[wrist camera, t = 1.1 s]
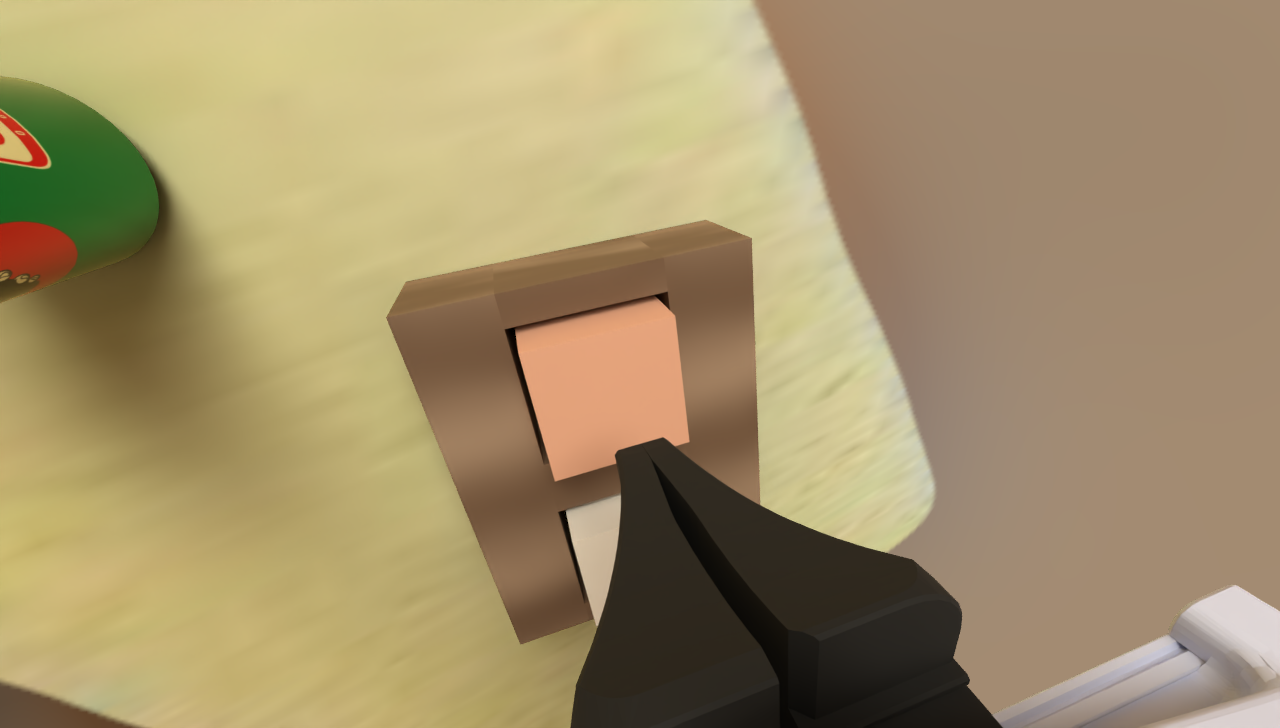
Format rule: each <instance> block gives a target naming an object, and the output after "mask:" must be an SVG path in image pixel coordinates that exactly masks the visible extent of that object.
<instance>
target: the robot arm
mask: <svg viewBox="0 0 1280 728" xmlns="http://www.w3.org/2000/svg"><path fill="white" fill-rule="evenodd" d="M615 459H616V464H617V469H618V474H619V479H620V484H621V512H620V524H619V535H618V543H617V550H616V556H615V562H614V567H613V572H612V576H611V581H610V585H609V590H608V594H607V598H606V601H605V605H604V608H603V612H602V615H601V618H600V621H599V624H598V628H597V631H596V634H595V637H594V640H593V643H592V646H591V648H590V651H589V654H588V656H587V659H586V661H585V664H584V666H583V669H582V671H581V674H580V676H579V679H578V682H577V684H576V691H575V698H574V705H573V712H572V720H571V728H1280V611H1278V610H1276V609H1275V608H1273V607H1271V606H1270V605H1268V604H1266V603H1265V602H1263V601H1261V600H1260V599H1258V598H1256V597H1255V596H1253V595H1252V594H1250V593H1248V592H1246V591H1245V590H1243V589H1242V588H1240V587H1238V586H1237V585H1228V586H1225V587H1223V588H1221V589H1219V590H1217V591H1214V592H1212V593H1210V594H1208V595H1205V596H1203V597H1201V598H1199V599H1196V600H1194V601H1192V602H1191V603H1189V604H1188V605H1186V606H1185V607H1184V608H1182V610H1180V611H1179V612H1178V613H1177V615H1176V616H1175V617H1174V619H1173V621H1172V623H1171V625H1170V627H1169V633H1168V634H1166V635H1164V636H1162V637H1160V638H1157V639H1155V640H1153V641H1151V642H1149V643H1146V644H1144V645H1142V646H1140V647H1138V648H1136V649H1134V650H1131V651H1129V652H1127V653H1125V654H1122V655H1120V656H1118V657H1116V658H1114V659H1112V660H1109V661H1107V662H1105V663H1103V664H1101V665H1098V666H1096V667H1094V668H1092V669H1090V670H1088V671H1085V672H1083V673H1081V674H1079V675H1077V676H1074V677H1072V678H1070V679H1068V680H1066V681H1064V682H1061V683H1059V684H1057V685H1055V686H1053V687H1050V688H1048V689H1046V690H1044V691H1042V692H1040V693H1037V694H1035V695H1033V696H1031V697H1029V698H1027V699H1024V700H1022V701H1020V702H1018V703H1016V704H1014V705H1011V706H1009V707H1007V708H1005V709H1003V710H1000V711H998V712H996V713H994V714H991V713H990V712H989V711H988V710H987V709H986V707H985V706H984V705H983V704H982V703H981V702H980V700H979V699H978V698H977V697H976V696H975V695H974V693H973V692H972V691H971V690H970V689H969V688H968V687H967V685H968V684H969V681H970V679H969V677H968V675H967V673H966V672H965V671H964V670H963V669H962V668H961V667H960V665H959V664H958V663H957V662H956V661H955V660H954V659H953V656H954V652H955V649H956V645H957V641H958V638H959V634H960V630H961V622H962V611H961V608H960V606H959V603H958V602H957V601H956V600H955V599H954V598H953V597H952V596H951V595H950V594H949V593H948V592H947V591H946V590H945V589H944V588H943V587H942V586H941V585H940V584H939V583H938V582H937V581H936V580H935V579H934V578H933V577H932V576H931V575H929V573H927V572H926V571H925V570H924V569H923V568H922V567H920V566H919V565H918V564H917V563H916V562H915V561H914V560H912V559H908V558H904V557H900V556H896V555H892V554H888V553H885V552H881V551H877V550H873V549H869V548H865V547H862V546H859V545H856V544H853V543H850V542H847V541H843V540H840V539H837V538H834V537H832V536H829V535H826V534H823V533H821V532H818V531H815V530H813V529H811V528H808V527H806V526H803V525H801V524H798V523H796V522H794V521H791V520H789V519H787V518H785V517H782V516H780V515H778V514H776V513H774V512H772V511H770V510H768V509H766V508H764V507H762V506H761V505H759V504H757V503H755V502H753V501H752V500H750V499H748V498H747V497H745V496H743V495H742V494H740V493H738V492H737V491H735V490H734V489H732V488H730V487H729V486H727V485H726V484H724V483H723V482H721V481H720V480H718V479H717V478H716V477H714V476H713V475H711V474H710V473H709V472H707V471H706V470H704V469H703V468H702V467H700V466H699V465H698V464H696V463H695V462H694V461H692V460H691V459H690V458H689V457H687V456H686V455H685V454H684V453H682V452H681V451H680V450H679V449H678V448H676V447H675V446H674V445H673V444H672V443H671V442H669V441H668V440H667V439H665V438H664V437H662V438H658V439H655V440H651V441H648V442H644V443H641V444H638V445H634V446H631V447H627V448H624V449H620V450H618V451H617V452H616V454H615Z"/></svg>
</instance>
